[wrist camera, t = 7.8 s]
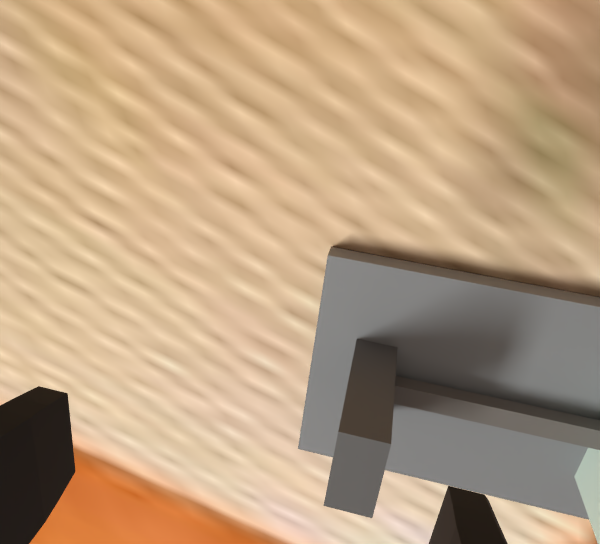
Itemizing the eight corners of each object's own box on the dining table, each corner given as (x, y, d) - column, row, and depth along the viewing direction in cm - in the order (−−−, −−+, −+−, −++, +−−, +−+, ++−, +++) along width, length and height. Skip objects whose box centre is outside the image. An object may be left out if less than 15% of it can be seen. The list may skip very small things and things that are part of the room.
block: (717, 509, 19) (808, 656, 15) (340, 422, 21) (319, 527, 16) (789, 403, 17) (922, 536, 12) (361, 315, 19) (343, 404, 14)
